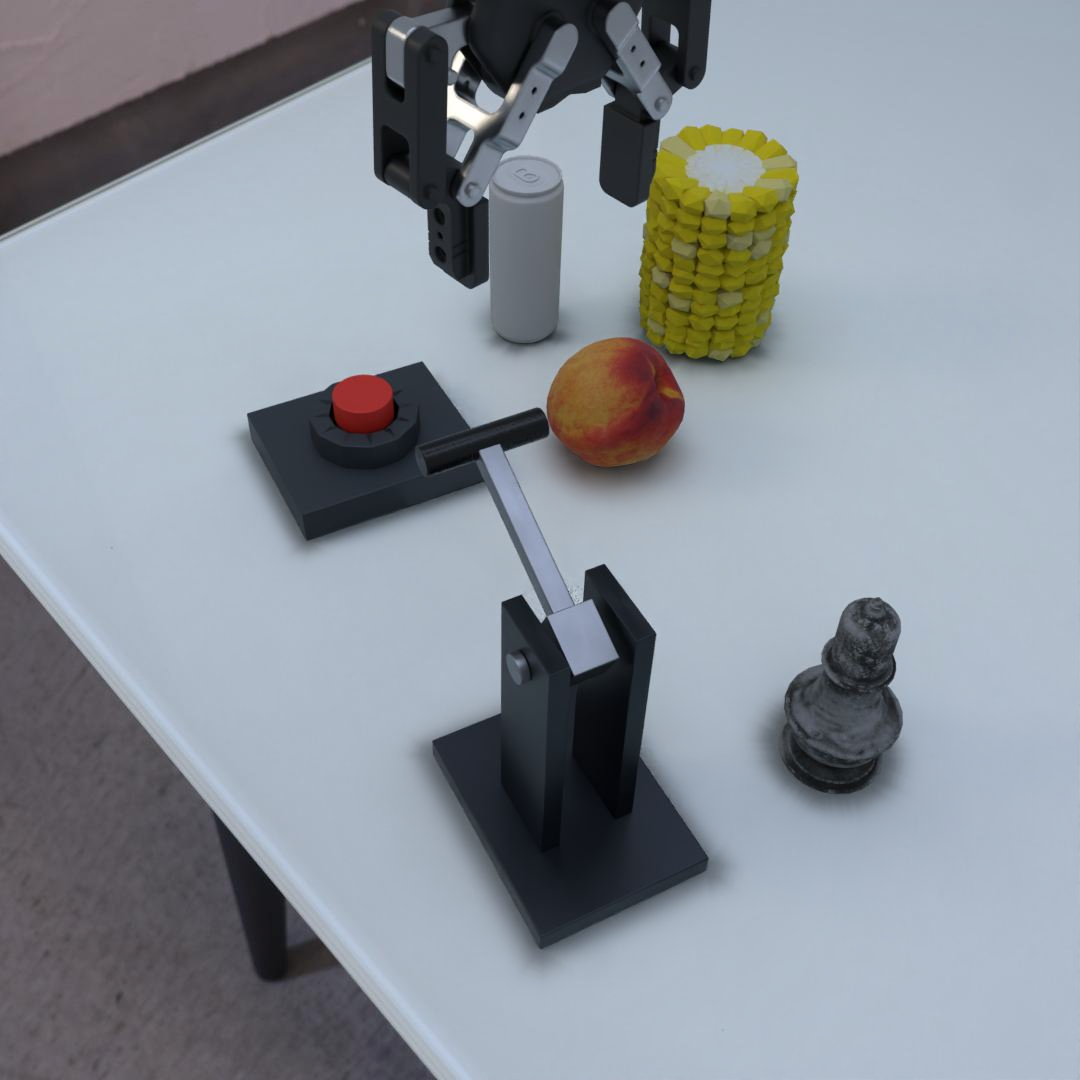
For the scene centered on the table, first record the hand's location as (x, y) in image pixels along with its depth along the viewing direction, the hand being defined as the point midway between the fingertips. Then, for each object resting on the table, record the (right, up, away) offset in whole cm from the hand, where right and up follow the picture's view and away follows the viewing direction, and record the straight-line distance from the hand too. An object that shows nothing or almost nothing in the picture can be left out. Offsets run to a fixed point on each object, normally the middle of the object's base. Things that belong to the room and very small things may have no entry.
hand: (545, 235), depth 51 cm
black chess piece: (+15, -23, +17) cm, 32 cm away
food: (+11, +3, +41) cm, 42 cm away
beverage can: (-1, +3, +41) cm, 41 cm away
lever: (-1, -13, +6) cm, 14 cm away
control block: (-11, -7, +31) cm, 34 cm away
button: (-11, -4, +28) cm, 31 cm away
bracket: (+1, -25, +14) cm, 29 cm away
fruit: (+4, -6, +32) cm, 33 cm away
